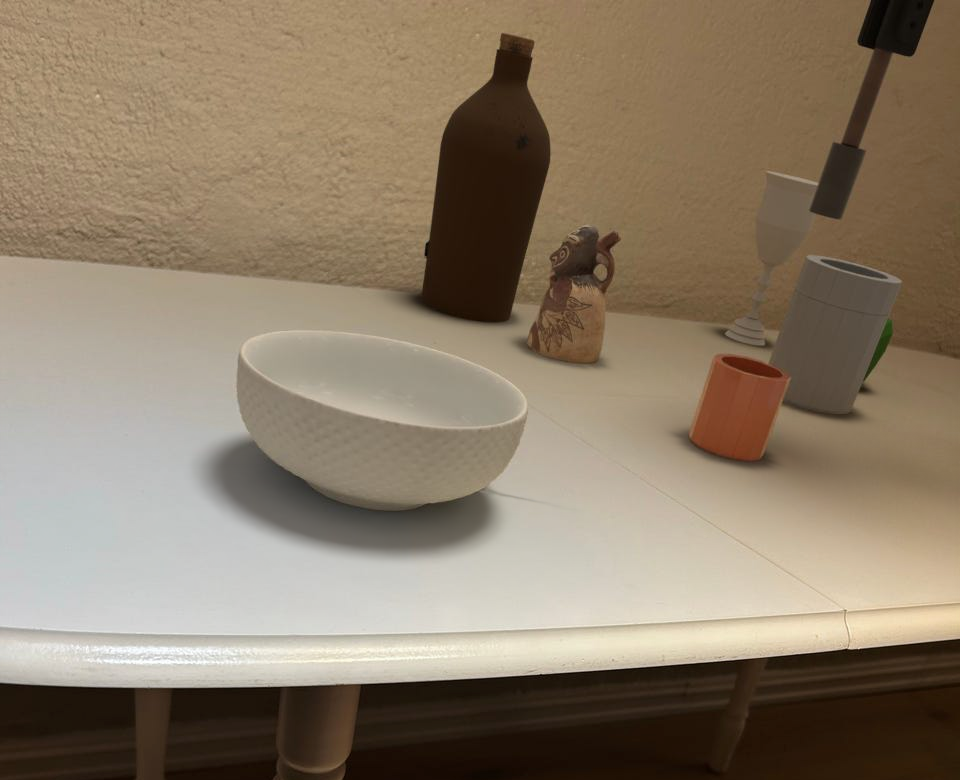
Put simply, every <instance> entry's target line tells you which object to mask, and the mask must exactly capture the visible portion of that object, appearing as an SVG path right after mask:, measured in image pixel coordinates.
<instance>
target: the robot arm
mask: <svg viewBox="0 0 960 780" xmlns="http://www.w3.org/2000/svg"><path fill="white" fill-rule="evenodd" d="M934 2H935V0H870V2H869V5H868V8H867V10H866V13H865V17H864V19H863V22H862V25H861V28H860V31H859V34H858V37H857V41H856V42H857V45H858V46H859V47H863V48H866V49H869V50H872V51H873V50H874V47H875V45H876V47H877V48H878V49H882V50H885V51H889V52H892V53H893V54H895V55H899V56H903V57H909V58H911V57H913V56H914V55H915V54H916V52H917V49H918V46H919V43H920V41H921V37H922V35H923V32H924V29H925V27H926V25H927V21H928V19H929V16H930V13H931V10H932V8H933V5H934Z"/></svg>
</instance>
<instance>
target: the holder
mask: <svg viewBox="0 0 960 780" xmlns="http://www.w3.org/2000/svg"><path fill="white" fill-rule="evenodd" d="M768 363H769V362H766V361H763V360H760V359H757V358H753V357H748V356H745V355H739V354H734V353H733V354H732V353H717V354H715V355H713V356H712V360H711V363H710V366H709V370H708V373H707V376H706V378H705V383H704V385H703V388H702V392H701V395H700V398H699V401H698V404H697V406H696V410H695V413H694V416H693V419H692V422H691V425H690V429H689V432H688V438H689V440H690V441H691V442H692V443H693V444H694V445H696V447H699V448H700V449H702V450H704V451H706V452H709V453H711V454H714V455H717V456H720V457H723V458H726V459H731V460H736V461H745V462H755V461H759V460H760V459H762V457H763V456H764V455H765V451H766V448H767V446H768V443H769V440H770V437H771V435H772V432H773V429H774V426H775V423H776V421H777V418H778V416H779V413H780V410H781V407H782V404H783V399H784V396H785V393H786V391H787V388H788V385H789V382H790V379H791V377H790V375H789V374H788V373H787V372H786V371H784V370H782V369H780V368H778V367H776V366H774V365H771V364H768Z"/></svg>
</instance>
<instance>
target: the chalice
mask: <svg viewBox="0 0 960 780" xmlns="http://www.w3.org/2000/svg"><path fill="white" fill-rule="evenodd" d="M765 178H766V184H765V188H764V190H763V193H762V197H761V201H760V202H759V206H758V210H757V213H756V216H755V242H756V250H757V258H758V260H759V261H760V262H761V263H762V264H763V271H762V272H761V274H760V276H759V278H758V279H757V280H756V284H757V285H756V291H755V292H754V294H753V295H751V296H750V300H751V305H750V309H749V311H748V313H747V314H745V316H744V317H738V318H737V319H735V320H734V321H733V322H734V323H732V324H731V325H730V327H729V328H728V330H727V331H726V332H724V334H725V336H726V337H728V338H730V339H732V340H735V341H737V342H740V343H744V344H748V345H751V346H752V345H753V346H759V347H760V346H766V342H765V338H766V335H765V327H764V324H763V323H762V322H760V321H759V320H760V318H759V311H760V308H761V307H762V305H763V304H764V303H766V299H765V293H766V291H767V290H768V288H769V287H770V286H772V285H771V274H772V273H773V271H774V269H775V267H781V266H783V265H785V263H787V262H788V260H789V259H790V258H791V257H792V256H793V254H795V253H796V251H797V250H798V249H799V248H800V247H801V245H802V244H803V243H804V241H805V240H806V239H807V237H808V236H809V235H810V234H811V230H812V227H813V225H814V221H815V220H816V216H817V214H815V213H812V212H810V211H809V209H810V206H811V203H812V200H813V197H814V194H815V191H816V189H817V186H818V183H819V182H817V181H813V180H809V179H806V178H803V177H802V178H801V177H798V176H793V175H789V174H784V173H781V172H775V171H769V170H765Z"/></svg>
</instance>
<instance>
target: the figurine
mask: <svg viewBox="0 0 960 780" xmlns="http://www.w3.org/2000/svg"><path fill="white" fill-rule="evenodd" d="M621 240H622V238H621V236H620V233H619V231H618V230H613V231H611V232H610V233H608V234H606V235H605V236H603V237H602V238H600V234H599V230H598V228H597V226H595V225H593V224H584V225H581V226H579V227H577V228H576V229H574V230H573V231H571V232H570V233H568V234H567V235H566V236H565V237H564V238H563V240H562V242H561V244H560V247H559V248H558V249H556V251H554V252H553V253H552V254H551V255H550V256H549V260H550V263H551V269H550V272H549V276H548V280H549V283H550V285H549V287H548V289H547V290H546V292H545V294H544V296H543V299H542V301H541V304H540V307H539V310H538V312H537V314H536V317H535V319H534V321H533V323H532V325H531V326H530V329H529V332H528V336H527V340H526V345H527V346H528V347H529V348H530V350H531V351H533V352H535V353H536V354H540V355H542V356H545V357H548V358H551V359H555V360H558V361H563V362H568V363H575V364H592V363H596V362H597V361H598V360H599V358H600V355H601V352H602V349H603V343H604V338H605V337H604V336H605V329H606V311H607V306H606V305H607V302H606V301H607V299H606V292H607V290H608V288H609V286H610V284H611V283H612V282H613V278H614V275H615V269H616V268H615V267H616V266H615V265H616V264H615V258H614V256H613V254H612V252H611V249H612V248H614V246H616V245H617V244H618V243H619V242H621ZM599 265H602V266H604V267H605V268H606V277H605V279H603V280H601V279H600V278H599V277H598V276H597V275H596V274H595V273H594V271H595V269H596V268H597V266H599Z"/></svg>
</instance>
